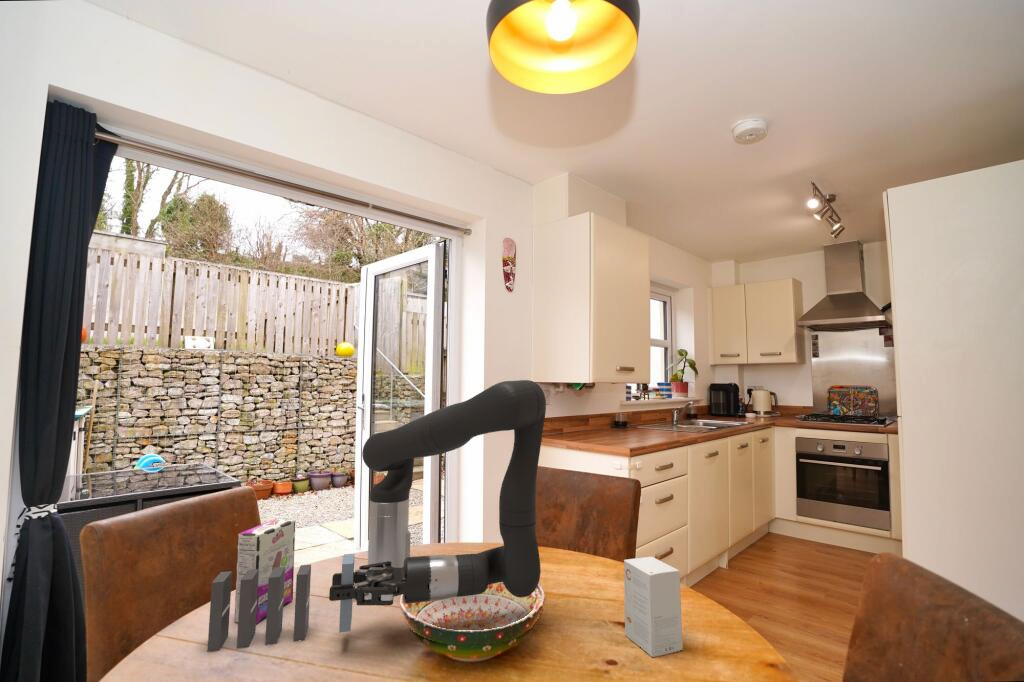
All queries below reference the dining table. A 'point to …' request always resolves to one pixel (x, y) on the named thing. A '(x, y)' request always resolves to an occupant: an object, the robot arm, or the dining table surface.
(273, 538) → the candy bar box
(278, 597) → the black domino
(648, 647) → the small box
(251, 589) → the black domino
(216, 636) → the end domino
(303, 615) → the black domino
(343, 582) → the slate domino
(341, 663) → the dining table surface
